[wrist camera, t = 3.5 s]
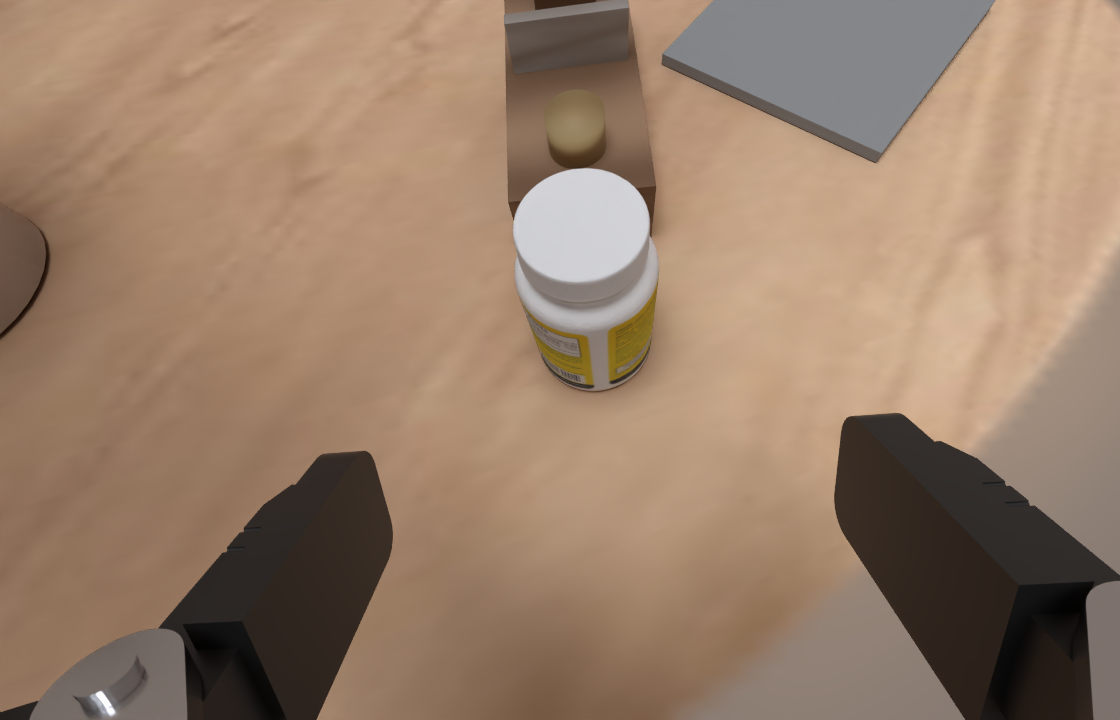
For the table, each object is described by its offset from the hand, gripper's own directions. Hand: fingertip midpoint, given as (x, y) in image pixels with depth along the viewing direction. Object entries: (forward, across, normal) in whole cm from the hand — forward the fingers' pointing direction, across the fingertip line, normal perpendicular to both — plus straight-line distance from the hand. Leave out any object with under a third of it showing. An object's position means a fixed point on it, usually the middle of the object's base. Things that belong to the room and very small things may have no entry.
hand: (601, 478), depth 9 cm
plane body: (+22, 0, -6) cm, 23 cm away
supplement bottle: (+14, 0, +3) cm, 14 cm away
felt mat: (+25, -13, -9) cm, 30 cm away
